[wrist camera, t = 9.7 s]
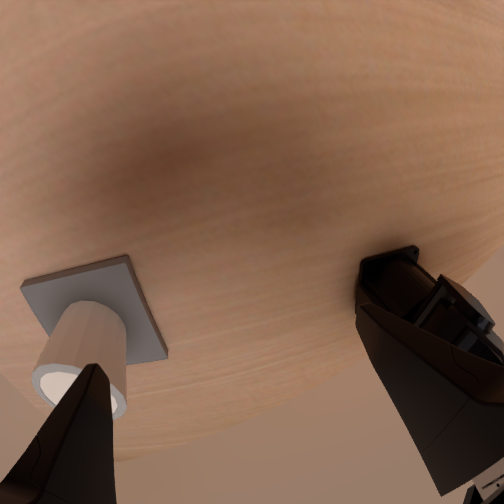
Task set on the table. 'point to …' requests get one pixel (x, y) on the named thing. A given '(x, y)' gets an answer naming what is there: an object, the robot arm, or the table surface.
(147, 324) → the slate plate
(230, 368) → the table surface
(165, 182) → the table surface
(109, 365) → the white cup
